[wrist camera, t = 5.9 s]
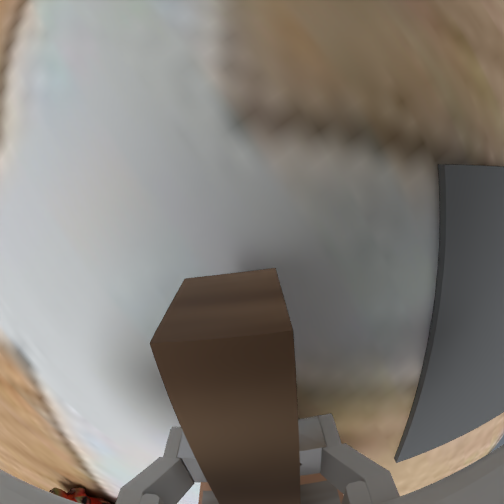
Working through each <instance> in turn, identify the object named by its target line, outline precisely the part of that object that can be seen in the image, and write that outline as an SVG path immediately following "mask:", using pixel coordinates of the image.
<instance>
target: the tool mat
mask: <svg viewBox="0 0 504 504" xmlns="http://www.w3.org/2000/svg"><path fill="white" fill-rule="evenodd" d="M438 170H439V189H440V241H439V260H438V273H437V284H436V293H435V301H434V309H433V316H432V322H431V328H430V334H429V340H428V345H427V350H426V355H425V359H424V364H423V368H422V372H421V376H420V380H419V384H418V388H417V392H416V395H415V399H414V402H413V406H412V409H411V412H410V416H409V419H408V422H407V425H406V428H405V431H404V434H403V436H402V439H401V442H400V445H399V447H398V450H397V453H396V455H395V458H394V459H395V461H396V463H398V462H400V461H403V460H406V459H409V458H412V457H414V456H417V455H419V454H422V453H424V452H427V451H429V450H432V449H434V448H436V447H439V446H441V445H443V444H445V443H448V442H450V441H452V440H454V439H456V438H458V437H460V436H462V435H464V434H466V433H468V432H470V431H472V430H474V429H476V428H477V427H479V426H481V425H483V424H485V423H486V422H488V421H490V420H491V419H493V418H495V417H496V416H498V415H500V414H501V413H503V412H504V167H499V166H480V165H438Z"/></svg>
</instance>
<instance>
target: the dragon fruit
mask: <svg viewBox="0 0 504 504" xmlns="http://www.w3.org/2000/svg"><path fill="white" fill-rule="evenodd" d="M50 492H51V493H53V494H55V495H58V496H60V497H63V498H66V499H69V500H71V501H74V502H77V503H81V504H112V503H110V502H108V501H107V500H105V499H102V498H92V497H89V496H87V495H86V493H85V488H82V487H81V488H72V489H70V492H68V493H66V492H65V491H63V490H61V489H58V488H53V489H52V490H50Z"/></svg>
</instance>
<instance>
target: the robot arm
mask: <svg viewBox="0 0 504 504" xmlns="http://www.w3.org/2000/svg"><path fill="white" fill-rule="evenodd" d="M298 426H299V454H300V476H303V475H310V474H317V473H321V475H322V476H324V477H325V478H326V479H327V480H328V481H329V482H330V483H331V484H332V485H334V486H335V487H336V488H337V489H338V490H339V491H340V492H342V493H343V494H344V496H343V500H342V503H341V504H504V444H503V445H502V446H500V447H499V448H497V449H496V450H494V451H492V452H491V453H489V454H488V455H486V456H484V457H483V458H481V459H479V460H478V461H476V462H474V463H472V464H471V465H469V466H467V467H465V468H463V469H461V470H459V471H458V472H456V473H454V474H452V475H450V476H448V477H445V478H443V479H441V480H439V481H437V482H435V483H433V484H430V485H428V486H426V487H423V488H421V489H418V490H416V491H414V492H411V493H408V494H406V495H403V496H399V493H398V491H397V488H396V486H395V483H394V481H393V478H392V476H391V473H390V471H388V470H387V469H385V468H383V467H382V466H380V465H378V464H377V463H375V462H374V461H372V460H370V459H369V458H367V457H366V456H364V455H362V454H361V453H359V452H358V451H356V450H355V449H353V448H352V447H350V446H349V445H347V444H346V443H345V444H341V440H340V437H339V434H338V431H337V428H336V425H335V422H334V419H333V416H332V414H331V413H330V414H325V415H320V416H314V417H308V418H302V419H298ZM194 482H207V480H206V478H205V476H204V474H203V472H202V470H201V468H200V466H199V464H198V462H197V460H196V458H195V456H194V454H193V452H192V450H191V448H190V446H189V443H188V441H187V439H186V437H185V435H184V432H183V430H182V428H181V427H172V428H171V429H170V433H169V436H168V440H167V444H166V448H165V452H164V455H163V457H159V458H158V459H157V460H156V461H154V462H153V463H152V464H151V465H150V466H148V467H147V468H146V469H145V470H143V471H142V472H141V473H140V474H138V475H137V476H136V477H135V478H133V479H132V480H131V481H129V482H128V483H127V484H126V485H124V486H123V487H122V488H121V489H120V492H119V495H118V498H117V501H116V504H177V503H178V501H179V500H180V499H181V498H182V497H183V496H184V495H185V494H186V492H187V491H188V490H189V489H190V488H191V487H192V485H193V484H194ZM0 504H81V503H77V502H74V501H71V500H69V499H66V498H63V497H60V496H58V495H55V494H52V493H50V492H47V491H45V490H42V489H40V488H38V487H35V486H33V485H31V484H29V483H27V482H25V481H22V480H20V479H18V478H16V477H14V476H12V475H10V474H8V473H7V472H5V471H3V470H1V469H0Z"/></svg>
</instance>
